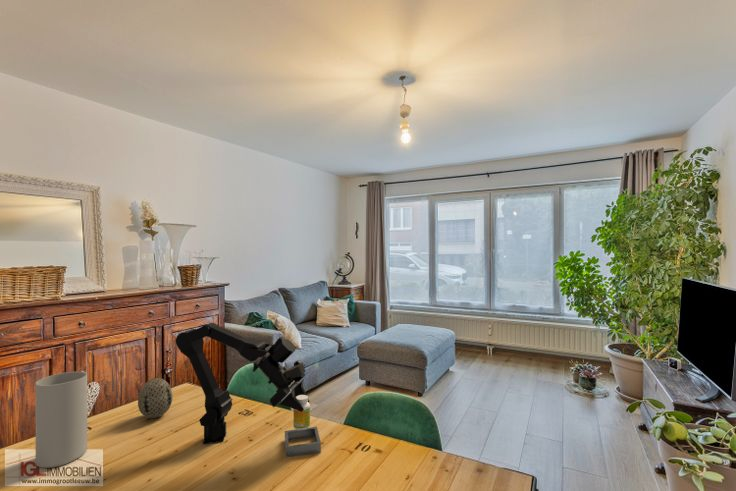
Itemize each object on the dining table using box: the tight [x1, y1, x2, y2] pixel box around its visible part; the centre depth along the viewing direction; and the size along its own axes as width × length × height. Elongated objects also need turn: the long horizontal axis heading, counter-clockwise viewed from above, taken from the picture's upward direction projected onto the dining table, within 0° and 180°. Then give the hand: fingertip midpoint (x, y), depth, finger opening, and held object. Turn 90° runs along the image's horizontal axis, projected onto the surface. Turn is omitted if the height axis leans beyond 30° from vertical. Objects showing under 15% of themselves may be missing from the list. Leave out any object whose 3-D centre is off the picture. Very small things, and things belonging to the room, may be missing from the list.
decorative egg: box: [137, 377, 174, 419], centre depth 141 cm, size 12×12×15 cm
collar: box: [284, 426, 322, 459], centre depth 119 cm, size 11×11×3 cm
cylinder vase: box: [35, 371, 88, 469], centre depth 114 cm, size 12×12×25 cm
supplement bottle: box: [293, 394, 311, 430], centre depth 120 cm, size 5×5×10 cm
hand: (305, 406), depth 119 cm, fingers closed on supplement bottle, 5 cm apart
